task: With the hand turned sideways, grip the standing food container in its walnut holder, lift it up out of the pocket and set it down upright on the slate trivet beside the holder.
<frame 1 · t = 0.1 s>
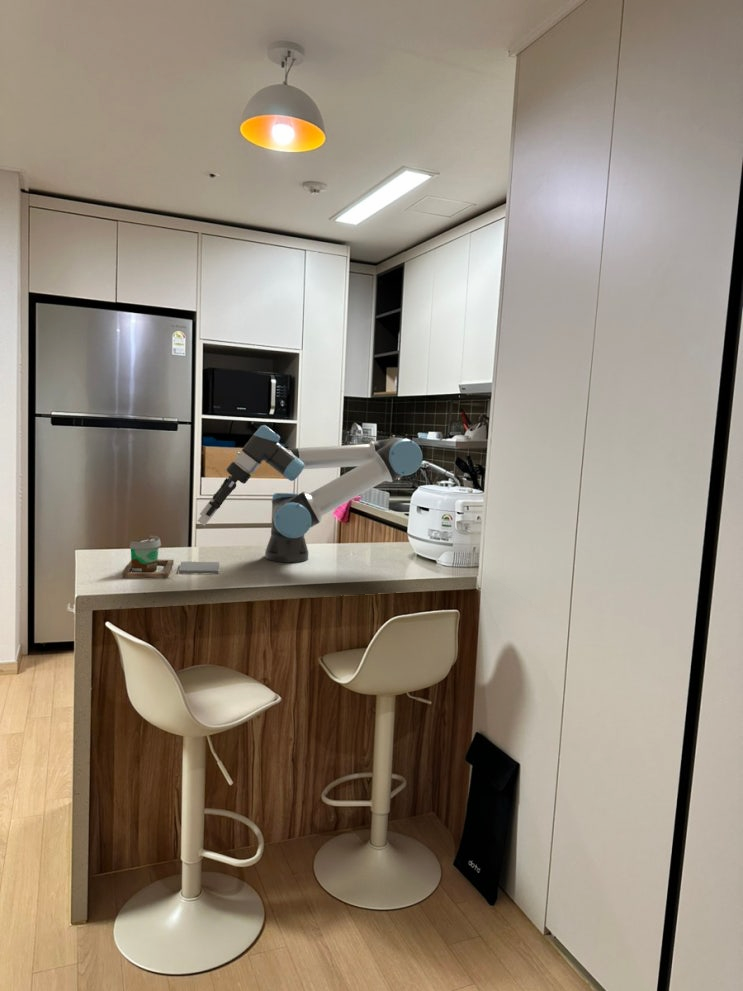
hand: (201, 519, 221), 15 cm above the countertop, tool tilted 35°, fingers open, 13 cm apart
slate trivet: (199, 569, 219), on the countertop
food container: (149, 571, 213), resting in walnut holder
walnut holder: (149, 570, 213), on the countertop
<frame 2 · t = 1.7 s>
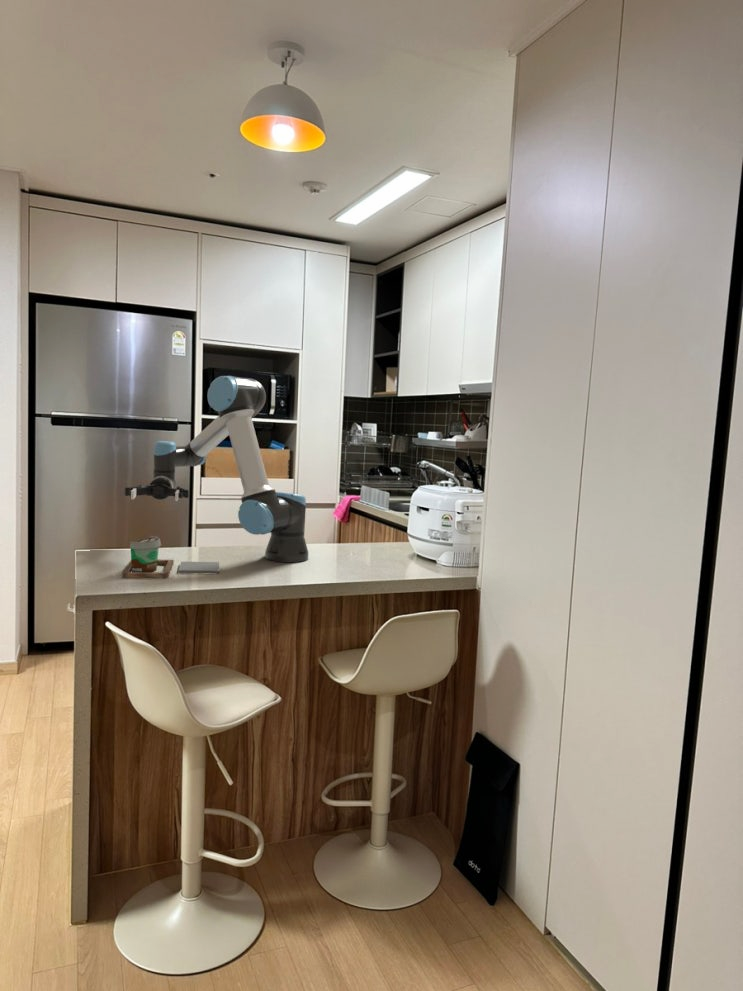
hand: (154, 496, 220), 22 cm above the countertop, tool horizontal, fingers open, 13 cm apart
nothing on the countertop moved.
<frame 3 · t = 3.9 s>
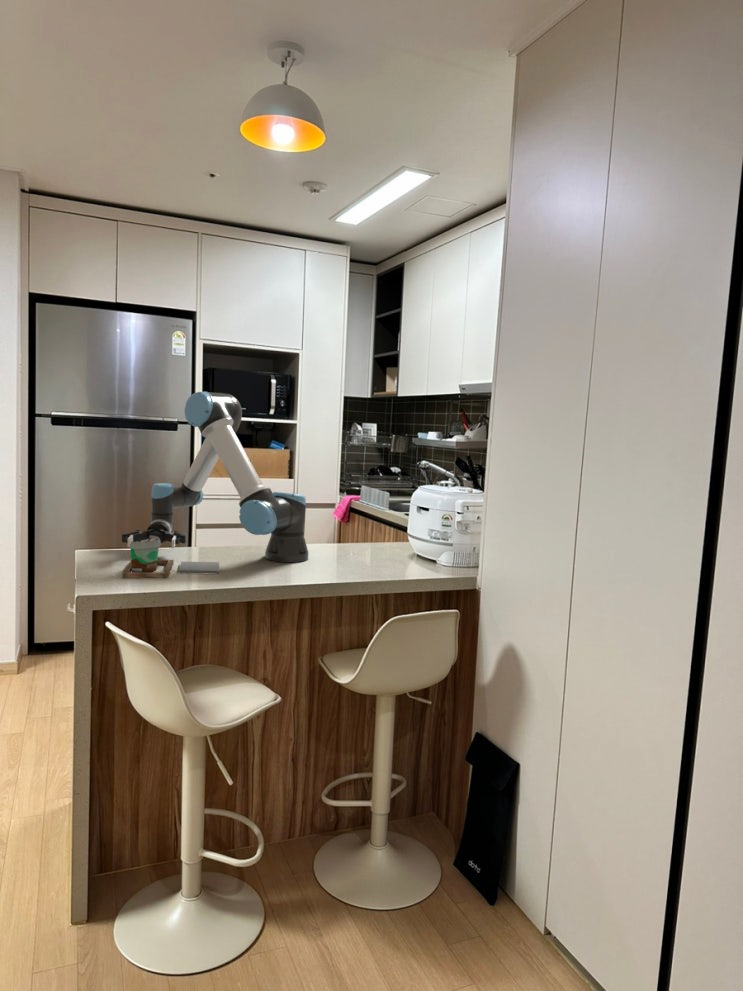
hand: (150, 543, 220), 7 cm above the countertop, tool horizontal, fingers open, 13 cm apart
nothing on the countertop moved.
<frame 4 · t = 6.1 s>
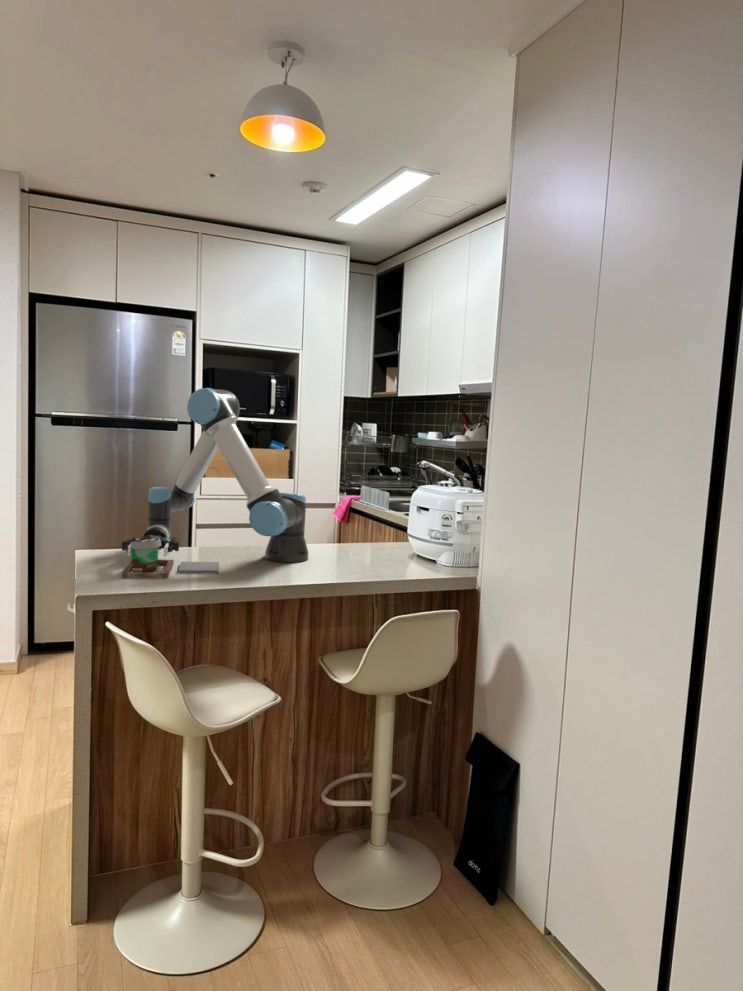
hand: (147, 551, 208), 7 cm above the countertop, tool horizontal, fingers open, 10 cm apart
food container: (149, 571, 213), resting in walnut holder, touching gripper
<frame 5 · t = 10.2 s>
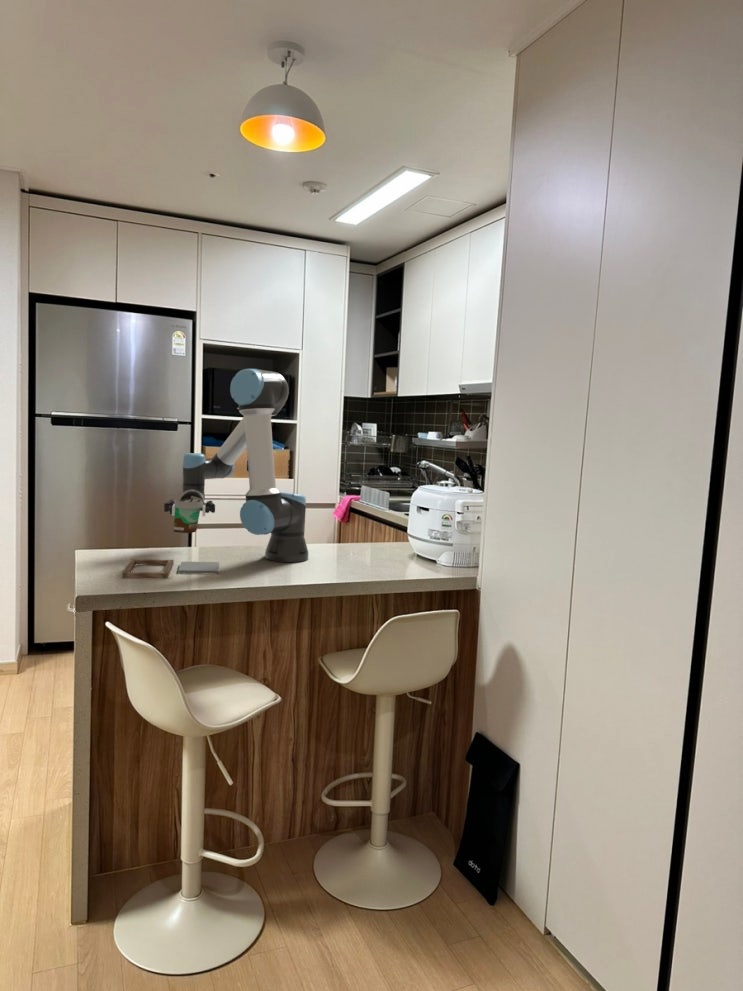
hand: (188, 511, 211), 19 cm above the countertop, tool horizontal, fingers closed on food container, 8 cm apart
food container: (189, 531, 216), point 12 cm above the countertop, touching gripper
when the fingers open (8 cm above the countertop, at t = 13.8 s): food container stays where it is, resting on slate trivet.
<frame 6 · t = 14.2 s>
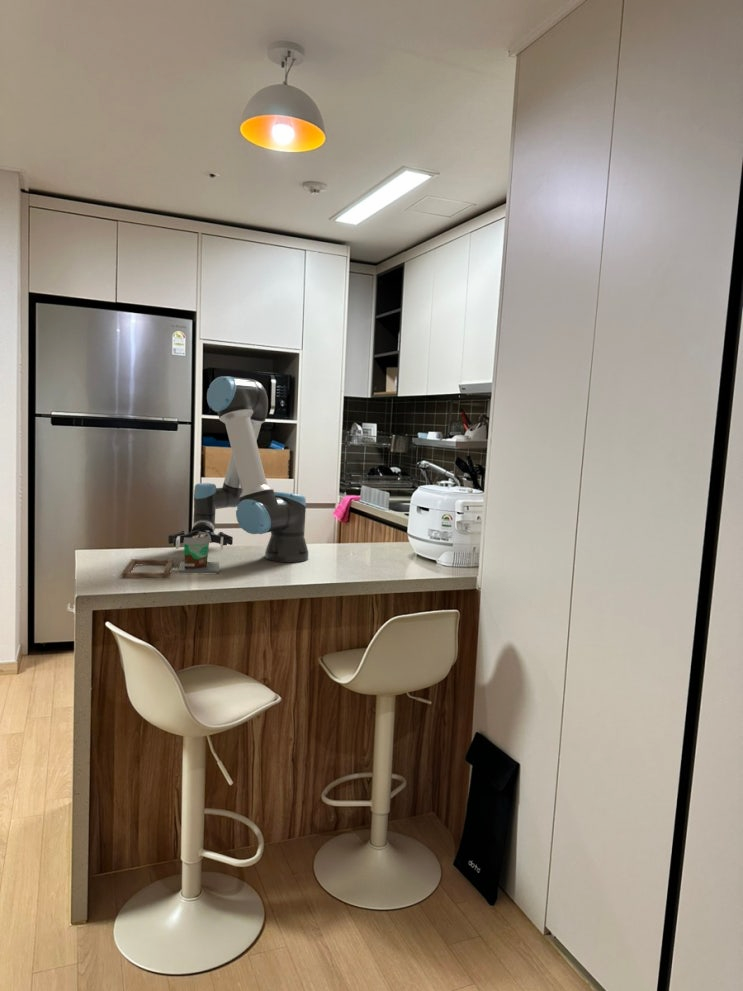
hand: (199, 545, 215), 9 cm above the countertop, tool horizontal, fingers open, 13 cm apart
food container: (199, 566, 219), point 1 cm above the countertop, touching slate trivet
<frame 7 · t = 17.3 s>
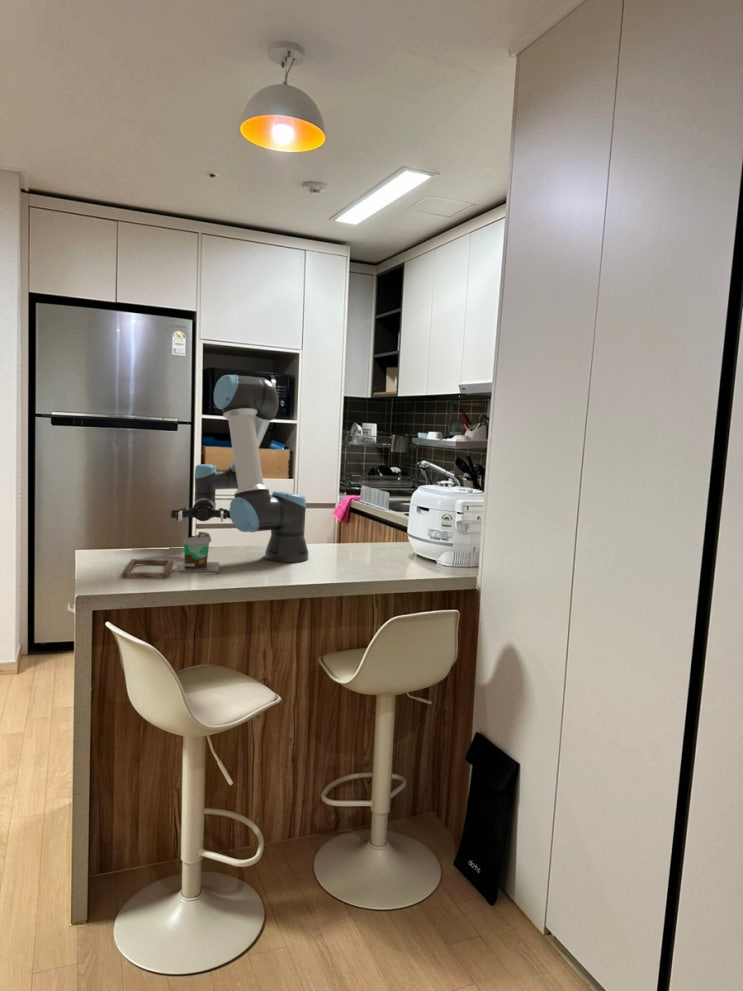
hand: (200, 517, 227), 15 cm above the countertop, tool horizontal, fingers open, 13 cm apart
nothing on the countertop moved.
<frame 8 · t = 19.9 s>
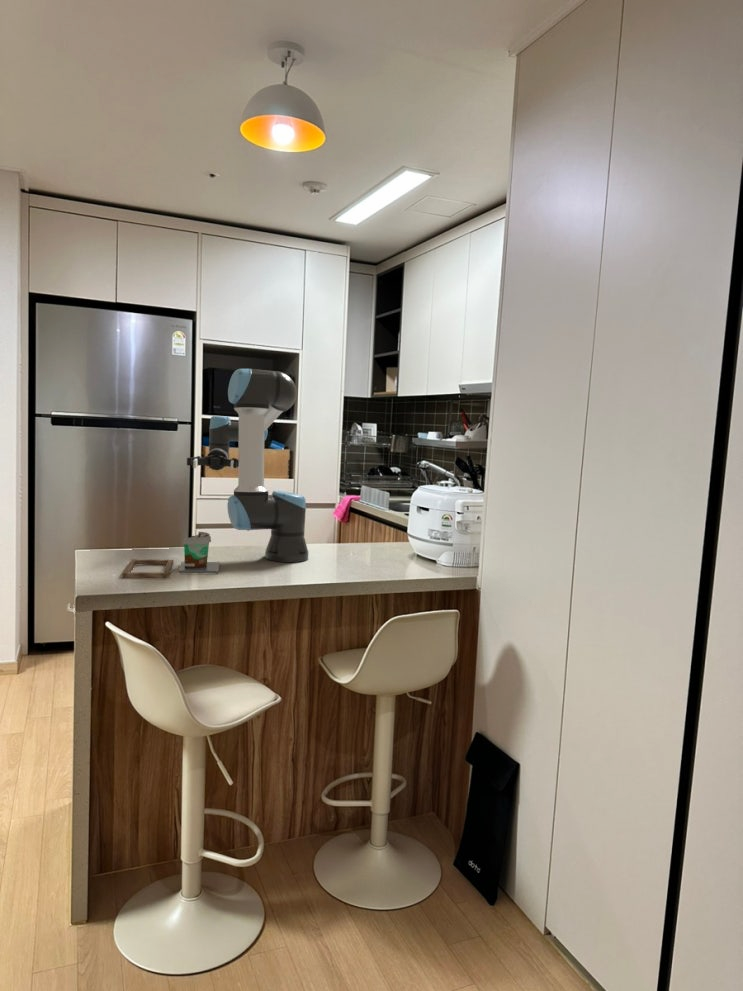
hand: (213, 465, 234), 32 cm above the countertop, tool horizontal, fingers open, 12 cm apart
nothing on the countertop moved.
at the end: food container inside the target area (0.2 cm from its centre), point 0.8 cm above the countertop; food container tilted 0°; the gripper is holding nothing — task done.
